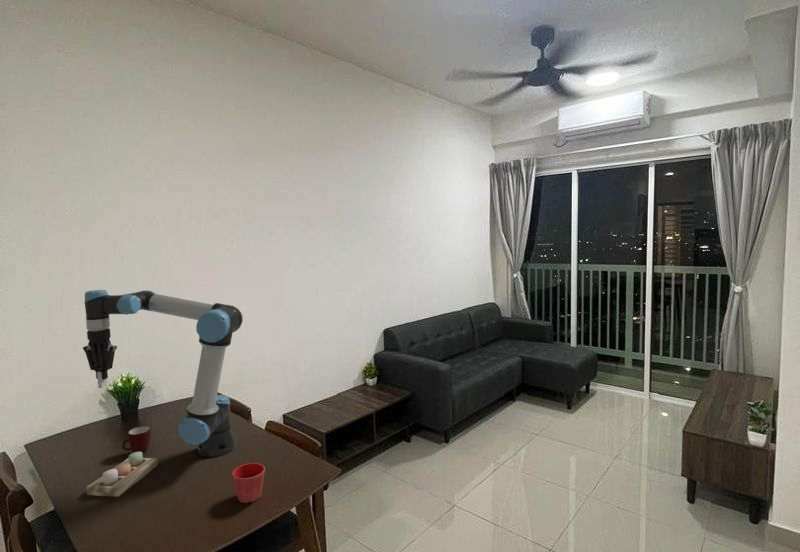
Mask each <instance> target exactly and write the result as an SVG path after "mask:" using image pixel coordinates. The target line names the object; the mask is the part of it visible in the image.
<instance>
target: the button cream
mask: <svg viewBox="0 0 800 552" xmlns="http://www.w3.org/2000/svg"><path fill="white" fill-rule="evenodd" d="M102 476H103V484H104V485H109V486H112V485H111V484H113V483H115V482H117V481H118V470H117V469H113V468H112V469H108V470H106V471H103V473H102ZM102 476H101V477H102Z"/></svg>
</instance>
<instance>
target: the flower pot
mask: <svg viewBox="0 0 800 552" xmlns="http://www.w3.org/2000/svg"><path fill="white" fill-rule="evenodd" d="M265 472H266V467H265V465H263V464H262V463H258V462H250V463H245V464H244V463H243V464H242V465H239V466H238V467H236V468H235V469H233V471H232V473H231V474H232V475H231V476H232V478H233V479H232V480H233V484H234V489H235V492H236V497H237V500H238V501H239V502H240V503H243V504H249V503H248V502H250V503H253V502H256V501H257V500H258V498H259V497H260V498H261V497H262V492H263V486H264V482H265V481H264V480H265ZM260 498H259V499H260ZM255 500H256V501H255Z"/></svg>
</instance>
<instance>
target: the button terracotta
mask: <svg viewBox="0 0 800 552" xmlns="http://www.w3.org/2000/svg"><path fill="white" fill-rule="evenodd" d="M118 465H119V464H118ZM118 465H116V466H117V468H116V469H117V470H118V476H126V475H127V474H129V473H130V472H131V464H130V463H125V464H121V465H119V466H118Z"/></svg>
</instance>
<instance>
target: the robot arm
mask: <svg viewBox="0 0 800 552" xmlns="http://www.w3.org/2000/svg"><path fill="white" fill-rule="evenodd" d="M84 309H85V316H86V317H85V322H86V323H85V324H86V337H87V340H88V342H87V343H88V344H87V345H84V346H83V347H82V350H83V351H84V353H85V356H86V359H87V361H88V365H89V370H91V371H94V372H95V379H96V380H97V386H98V388H97V389H103V388H105V387H108V381H107V379H108V377H109V376H108V375H109V374H108V372H109V371H108V370H111V369H113V365H114V359H115V352H116V350H117V349H118V347H117V345H113V344H112V343H111V340H110V338H111V329H110V326H111V325H110V322H111V321H110V315H135V314H137V313H138V312H139V311H143V310H144V311H148V312H152V313H153V312H154V313H158V314H160V313H161V314H165V315H168V316H169V315H170V316H174V317H179V318H185V319H189V320H194V321H196V329H195V330H196V333H197V334H198V343H200V345H201V352H200V356H199V364H198V368H197V374H196V380H195V386H194V390H193V391H194V392H193V396H192V402H191V403H190V404H188V405H187V408H186V411H185V412H186V413H185V418H184V419H183V420H181V422H180V423H179V425H178V434H179V437H180V438H182V440H183V441H184V442H185V443H186V444H188V445H194V446H195V445H198V447H197V450H198V455H200V456H202V457H206V458H207V457H219V456H222V455H223V456H224V455H226V454H228V453H230V452H231V451H233V450H234V449H235V448H236V446H237V440H236V438H235V434H234V433H233V430H232V421H231V402H230V398H229V396H227V395H224V394H218V392H219V388H220V387H219V386H220V381H221V374H222V369H223V364H224V359H225V354H226V349H227V347H229V346H231V344H232V337H233V333H235V332H237V331H238V330H239V329H240V328H241V327H242V323H243V318H244V317H243V314H242V312H241V311H240V309H239V308H238V307H236V306H234V305H232V304H231V305H230V304H224V303H218V302H215V303H213V304H212V303H211V304H210V303H205V302H200V301H195V300H189V299H185V298H179V297H173V296H168V295H163V294H158V293H155V292H154V291H152V290H141V291H136V292H132V293H126V294H118V295H116V294H114V295H112V294H111V295H109V293H108V290H106V289H95V290H88V291H85V293H84Z"/></svg>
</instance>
